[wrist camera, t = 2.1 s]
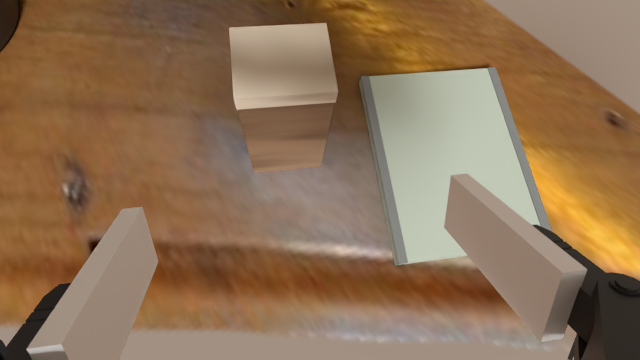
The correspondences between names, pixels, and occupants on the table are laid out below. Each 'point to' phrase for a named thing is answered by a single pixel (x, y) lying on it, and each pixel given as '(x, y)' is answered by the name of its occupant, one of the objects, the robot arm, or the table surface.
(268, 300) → the table surface
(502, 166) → the mat
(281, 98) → the beige block
